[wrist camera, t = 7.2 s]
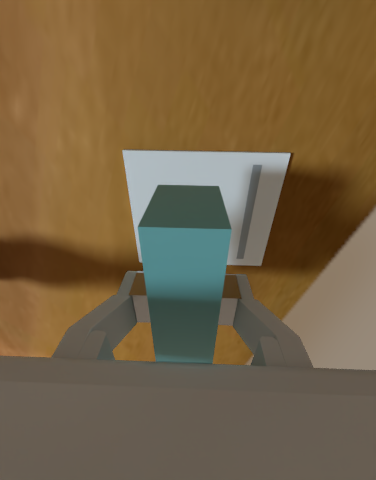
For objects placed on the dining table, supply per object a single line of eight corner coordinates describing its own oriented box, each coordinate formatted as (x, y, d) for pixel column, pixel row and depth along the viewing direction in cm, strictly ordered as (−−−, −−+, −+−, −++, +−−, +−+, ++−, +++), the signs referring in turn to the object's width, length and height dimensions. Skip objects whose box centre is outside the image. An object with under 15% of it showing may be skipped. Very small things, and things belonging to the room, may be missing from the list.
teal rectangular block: (158, 184, 10) (137, 226, 6) (218, 186, 9) (231, 229, 6) (166, 311, 14) (157, 374, 11) (206, 313, 14) (210, 376, 11)
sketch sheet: (123, 149, 14) (122, 150, 14) (289, 152, 14) (290, 153, 13) (140, 260, 19) (139, 262, 19) (260, 263, 19) (261, 266, 19)
